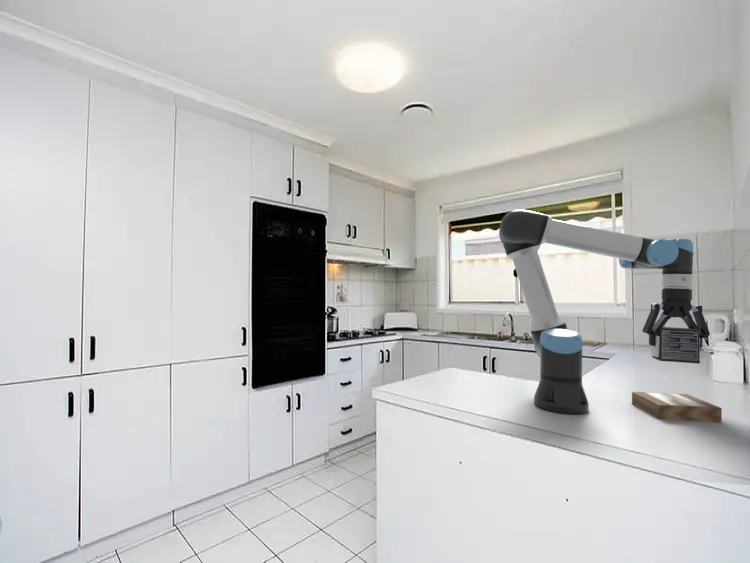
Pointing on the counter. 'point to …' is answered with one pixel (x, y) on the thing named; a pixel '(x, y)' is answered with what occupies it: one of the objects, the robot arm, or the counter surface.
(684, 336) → the small box
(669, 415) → the wooden block
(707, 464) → the counter surface
